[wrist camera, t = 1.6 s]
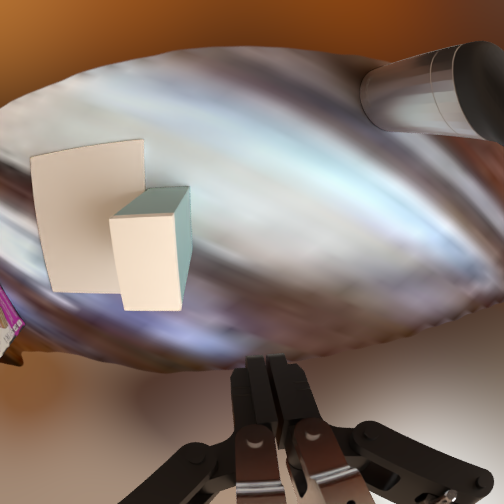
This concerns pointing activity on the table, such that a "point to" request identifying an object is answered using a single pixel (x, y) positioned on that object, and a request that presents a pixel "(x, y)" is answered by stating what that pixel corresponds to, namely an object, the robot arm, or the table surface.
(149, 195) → the teal block
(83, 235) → the mat
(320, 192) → the table surface
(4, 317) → the candy bar box
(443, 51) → the robot arm
